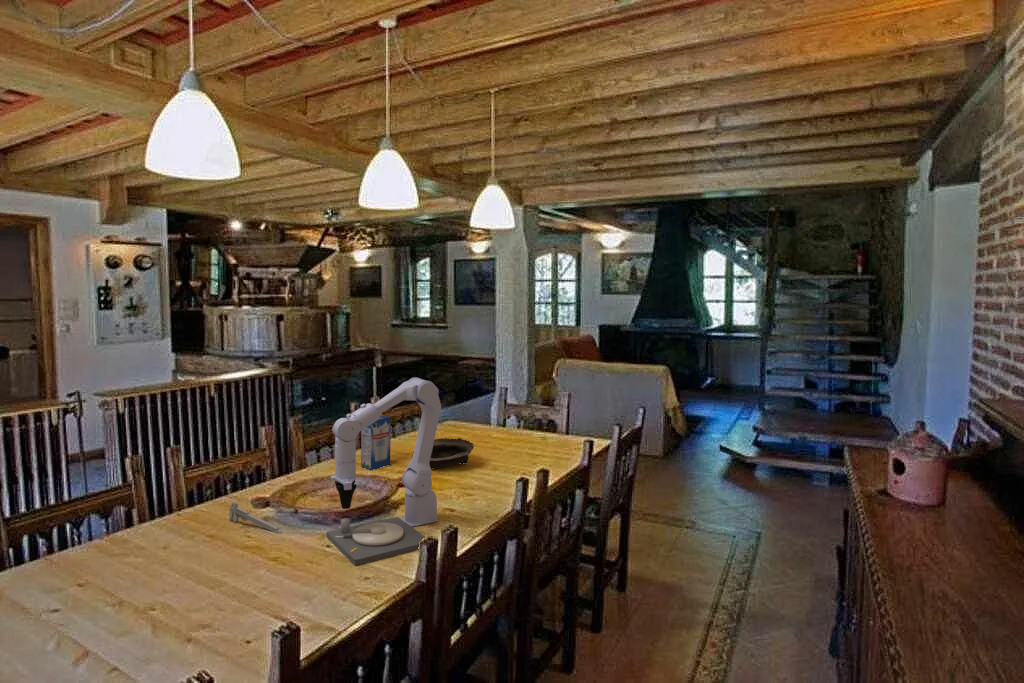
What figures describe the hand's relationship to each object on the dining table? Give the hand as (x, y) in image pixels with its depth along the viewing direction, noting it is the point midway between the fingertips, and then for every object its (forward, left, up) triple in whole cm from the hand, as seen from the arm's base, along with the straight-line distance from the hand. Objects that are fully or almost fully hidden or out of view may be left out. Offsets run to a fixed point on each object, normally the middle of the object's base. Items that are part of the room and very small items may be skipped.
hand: (345, 506), depth 173 cm
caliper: (+20, -21, -9) cm, 30 cm away
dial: (-5, +8, -7) cm, 12 cm away
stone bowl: (-59, -48, -9) cm, 76 cm away
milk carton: (-35, -61, -9) cm, 71 cm away
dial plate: (-6, +9, -8) cm, 14 cm away
